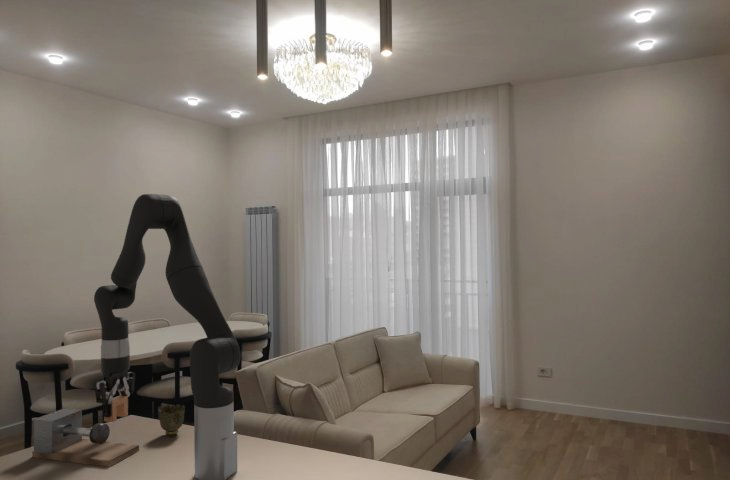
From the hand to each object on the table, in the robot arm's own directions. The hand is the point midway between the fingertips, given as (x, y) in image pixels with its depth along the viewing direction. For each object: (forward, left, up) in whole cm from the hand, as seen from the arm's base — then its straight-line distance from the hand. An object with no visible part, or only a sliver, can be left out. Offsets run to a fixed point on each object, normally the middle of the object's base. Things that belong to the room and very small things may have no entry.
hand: (116, 413), depth 154 cm
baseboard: (+1, +10, -8) cm, 13 cm away
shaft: (+1, +11, -4) cm, 12 cm away
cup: (-13, -8, -8) cm, 17 cm away
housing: (+9, +11, -6) cm, 16 cm away
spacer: (0, 0, -1) cm, 1 cm away
